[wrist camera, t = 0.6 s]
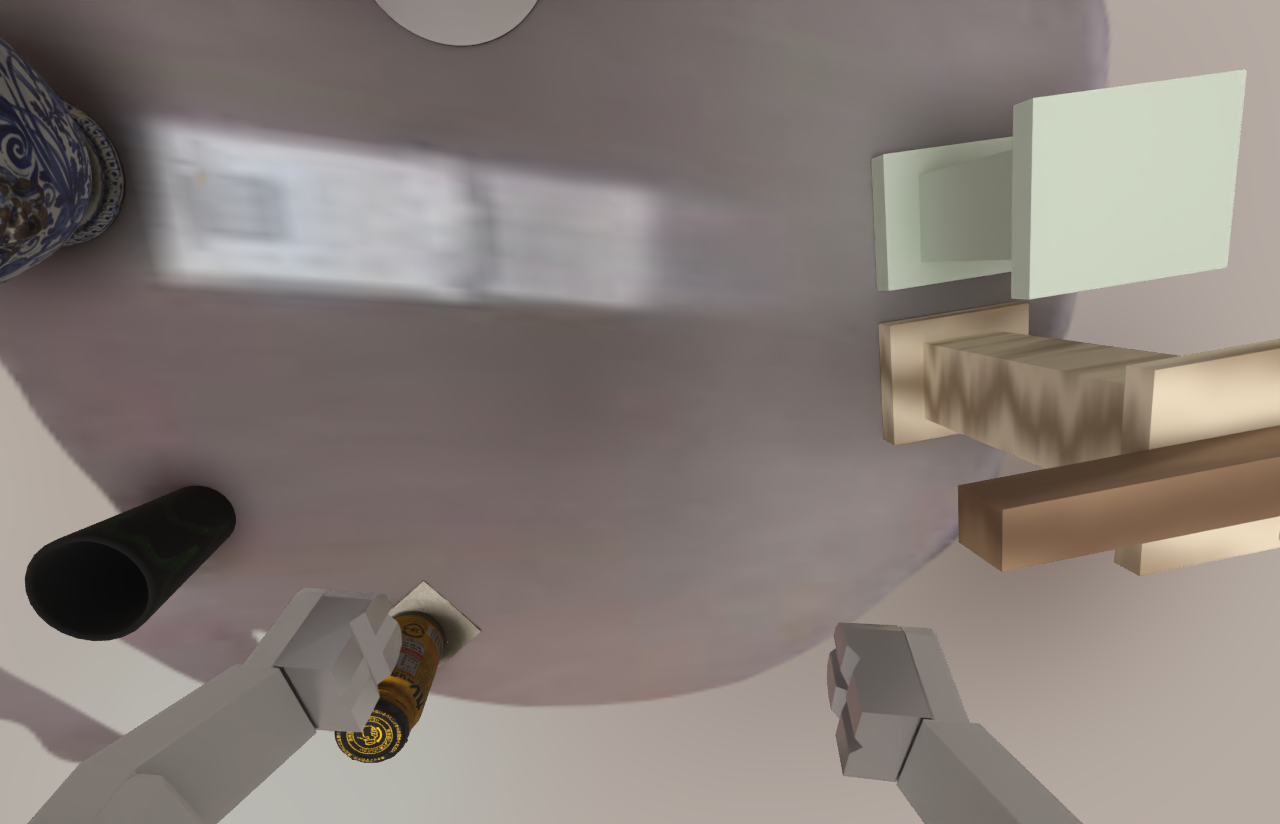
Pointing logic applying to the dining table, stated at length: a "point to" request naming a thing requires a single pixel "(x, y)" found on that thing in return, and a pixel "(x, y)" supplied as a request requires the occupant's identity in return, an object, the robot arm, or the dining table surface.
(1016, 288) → the pedestal low
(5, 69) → the decorative vase
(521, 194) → the dining table surface
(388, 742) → the condiment
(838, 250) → the dining table surface
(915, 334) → the pedestal tall
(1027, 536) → the mallet
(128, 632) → the cup
